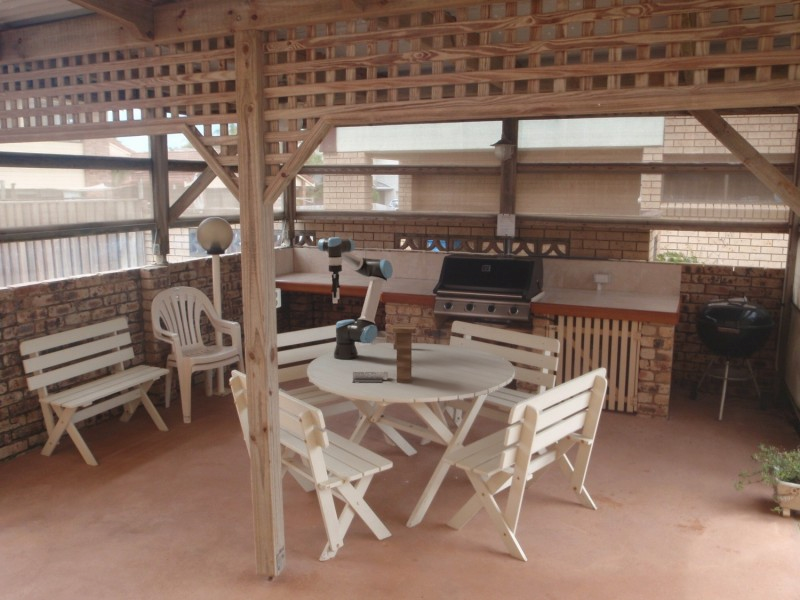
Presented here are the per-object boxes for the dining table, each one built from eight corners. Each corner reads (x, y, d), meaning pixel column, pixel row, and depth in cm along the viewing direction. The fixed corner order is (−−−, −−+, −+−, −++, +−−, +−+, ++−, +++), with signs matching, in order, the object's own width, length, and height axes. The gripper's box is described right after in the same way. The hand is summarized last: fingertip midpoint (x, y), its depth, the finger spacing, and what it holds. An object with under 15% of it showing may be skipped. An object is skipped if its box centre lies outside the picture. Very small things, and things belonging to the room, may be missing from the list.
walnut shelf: (393, 375, 389) (393, 323, 384) (414, 375, 389) (415, 323, 384) (392, 383, 373) (392, 328, 368) (415, 383, 373) (415, 329, 368)
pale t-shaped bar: (353, 376, 384) (353, 371, 384) (387, 376, 384) (387, 371, 384) (352, 379, 378) (352, 374, 378) (387, 379, 378) (387, 374, 378)
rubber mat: (354, 375, 388) (354, 374, 388) (382, 375, 388) (382, 374, 388) (352, 382, 374) (352, 381, 374) (381, 382, 374) (381, 381, 374)
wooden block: (409, 349, 452) (409, 322, 449) (393, 349, 453) (393, 322, 450) (410, 348, 455) (410, 321, 452) (394, 347, 457) (394, 321, 454)
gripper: (340, 267, 382) (341, 304, 385) (343, 261, 406) (344, 297, 410) (326, 267, 381) (327, 305, 385) (330, 261, 406) (331, 297, 410)
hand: (336, 301), depth 397 cm, fingers open, 13 cm apart
